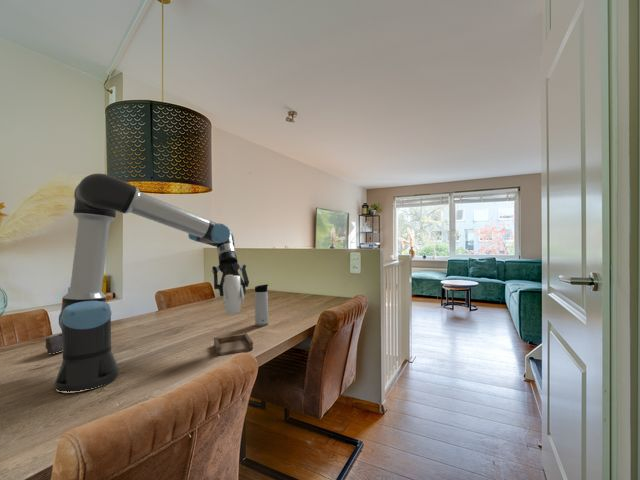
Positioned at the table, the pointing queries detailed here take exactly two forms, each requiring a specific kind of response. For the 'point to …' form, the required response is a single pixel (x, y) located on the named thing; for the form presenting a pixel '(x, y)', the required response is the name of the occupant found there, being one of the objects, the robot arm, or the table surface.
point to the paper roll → (232, 294)
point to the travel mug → (261, 305)
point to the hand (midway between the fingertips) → (234, 301)
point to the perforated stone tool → (54, 344)
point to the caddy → (232, 344)
